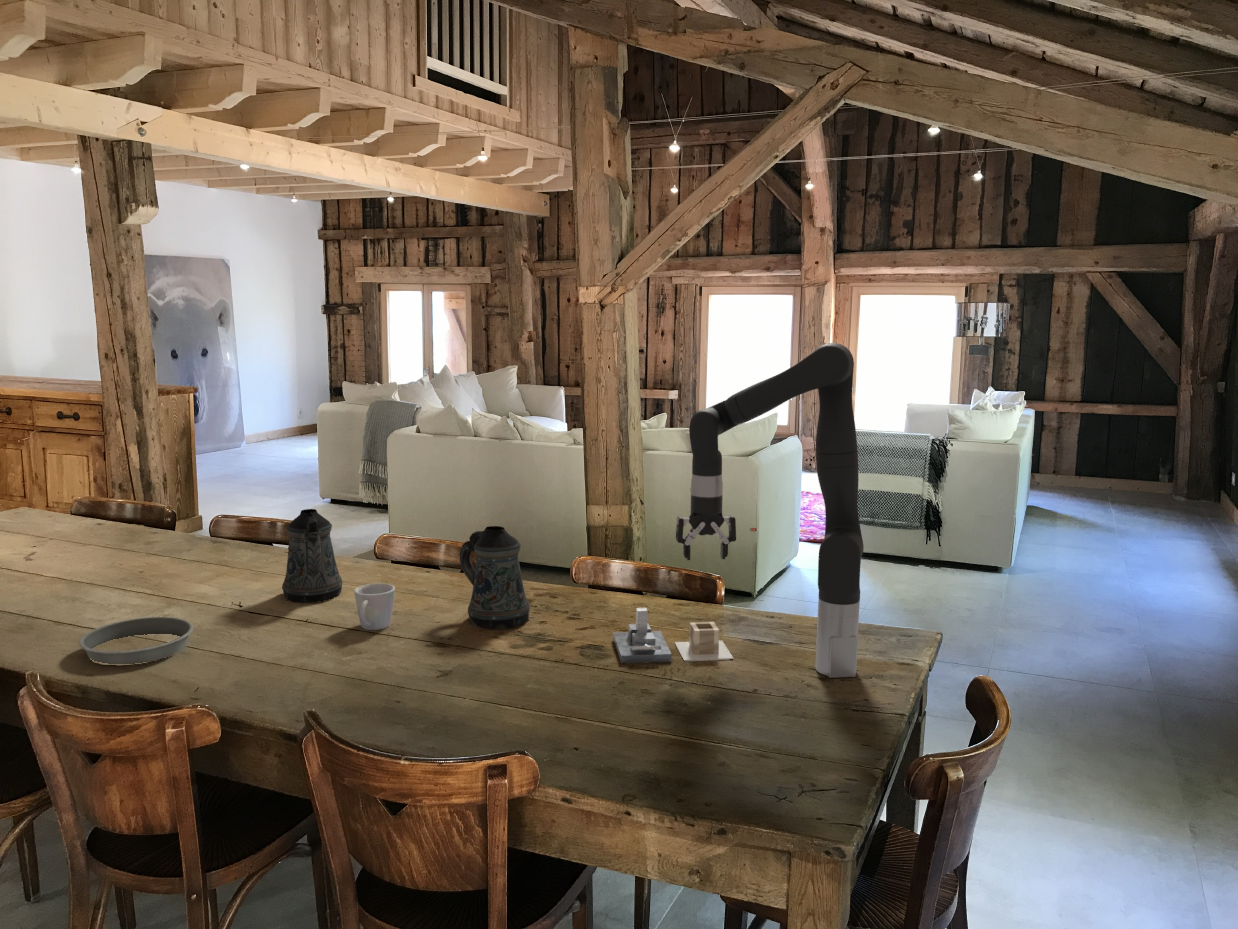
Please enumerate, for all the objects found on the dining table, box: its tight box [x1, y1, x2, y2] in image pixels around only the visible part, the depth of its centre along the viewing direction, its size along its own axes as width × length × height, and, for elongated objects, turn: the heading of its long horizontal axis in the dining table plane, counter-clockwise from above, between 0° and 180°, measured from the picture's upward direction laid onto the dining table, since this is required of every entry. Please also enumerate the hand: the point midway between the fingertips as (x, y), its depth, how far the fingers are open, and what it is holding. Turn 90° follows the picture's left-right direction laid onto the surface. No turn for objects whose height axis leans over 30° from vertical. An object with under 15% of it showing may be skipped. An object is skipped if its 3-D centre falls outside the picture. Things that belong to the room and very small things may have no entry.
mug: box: [353, 582, 396, 631], centre depth 243 cm, size 10×15×10 cm
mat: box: [674, 639, 734, 662], centre depth 229 cm, size 12×12×1 cm
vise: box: [612, 607, 673, 664], centre depth 228 cm, size 16×12×10 cm
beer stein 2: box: [459, 525, 531, 630], centre depth 249 cm, size 16×19×25 cm
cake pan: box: [78, 616, 194, 664], centre depth 227 cm, size 25×25×4 cm
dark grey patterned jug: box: [281, 508, 343, 604], centre depth 268 cm, size 16×19×25 cm
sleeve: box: [688, 621, 720, 655], centre depth 228 cm, size 6×6×6 cm
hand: (705, 559), depth 225 cm, fingers open, 8 cm apart
